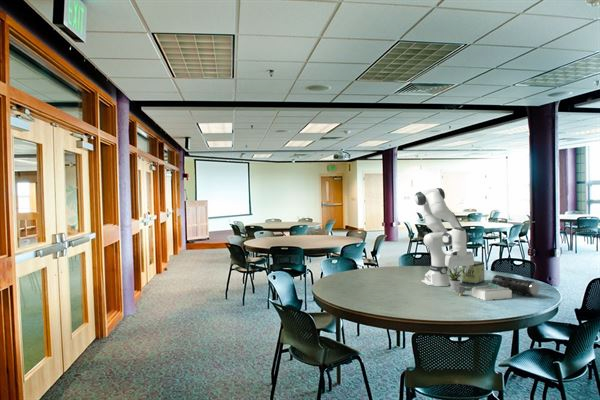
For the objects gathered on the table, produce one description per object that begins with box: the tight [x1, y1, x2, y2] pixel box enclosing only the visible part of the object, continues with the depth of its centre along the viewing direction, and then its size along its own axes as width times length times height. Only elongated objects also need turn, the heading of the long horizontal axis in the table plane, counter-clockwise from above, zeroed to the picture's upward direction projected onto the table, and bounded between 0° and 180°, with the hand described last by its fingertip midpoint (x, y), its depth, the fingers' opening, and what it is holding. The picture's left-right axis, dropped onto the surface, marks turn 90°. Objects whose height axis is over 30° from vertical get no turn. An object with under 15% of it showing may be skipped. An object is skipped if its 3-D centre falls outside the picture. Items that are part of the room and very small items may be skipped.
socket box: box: [471, 285, 513, 301], centre depth 250 cm, size 12×20×6 cm, turn 104°
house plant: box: [447, 266, 465, 291], centre depth 272 cm, size 14×14×16 cm
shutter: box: [487, 282, 504, 289], centre depth 251 cm, size 7×8×3 cm
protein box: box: [461, 260, 485, 286], centre depth 293 cm, size 10×16×16 cm
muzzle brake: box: [491, 274, 540, 297], centre depth 259 cm, size 10×28×10 cm, turn 25°
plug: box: [455, 284, 466, 297], centre depth 256 cm, size 4×4×6 cm
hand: (459, 272), depth 256 cm, fingers open, 8 cm apart
